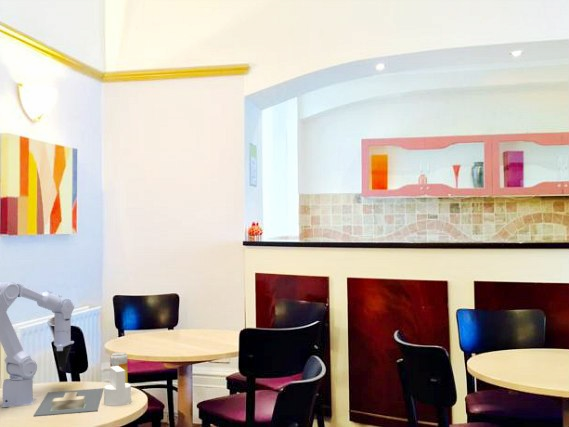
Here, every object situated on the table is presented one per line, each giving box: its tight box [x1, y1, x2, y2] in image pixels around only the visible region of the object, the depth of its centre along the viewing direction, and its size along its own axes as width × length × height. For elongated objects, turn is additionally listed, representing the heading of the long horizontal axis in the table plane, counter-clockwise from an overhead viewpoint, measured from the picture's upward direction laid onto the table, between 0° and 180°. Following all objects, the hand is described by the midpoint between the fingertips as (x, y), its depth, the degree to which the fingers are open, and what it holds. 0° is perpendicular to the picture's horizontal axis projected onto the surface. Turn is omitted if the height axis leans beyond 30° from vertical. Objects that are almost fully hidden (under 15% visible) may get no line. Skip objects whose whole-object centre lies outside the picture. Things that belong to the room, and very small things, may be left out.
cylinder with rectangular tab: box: [103, 366, 132, 407], centre depth 201 cm, size 9×9×12 cm
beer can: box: [109, 351, 129, 383], centre depth 212 cm, size 6×6×15 cm
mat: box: [33, 387, 104, 418], centre depth 203 cm, size 20×28×1 cm
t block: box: [52, 392, 85, 410], centre depth 198 cm, size 10×10×3 cm
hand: (62, 366), depth 217 cm, fingers closed
